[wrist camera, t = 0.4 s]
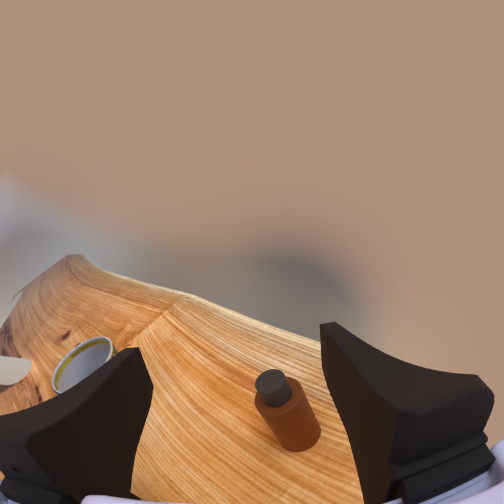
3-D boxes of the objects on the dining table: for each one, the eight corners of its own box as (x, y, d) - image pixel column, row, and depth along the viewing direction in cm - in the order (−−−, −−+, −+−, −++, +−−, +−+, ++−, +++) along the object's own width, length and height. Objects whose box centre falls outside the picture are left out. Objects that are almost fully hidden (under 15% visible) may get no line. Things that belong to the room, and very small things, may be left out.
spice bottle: (324, 444, 25) (299, 391, 21) (283, 456, 25) (246, 408, 21) (315, 412, 28) (290, 354, 24) (277, 424, 29) (243, 370, 25)
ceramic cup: (167, 414, 34) (120, 359, 30) (108, 455, 30) (53, 407, 26) (137, 367, 45) (100, 318, 41) (89, 401, 41) (49, 355, 37)
